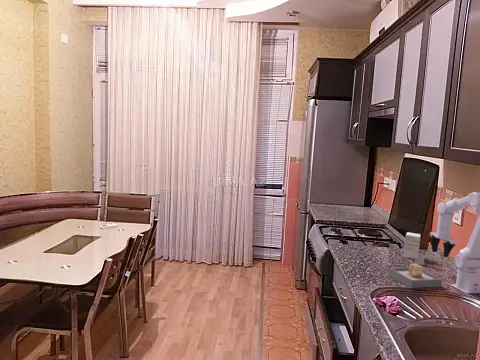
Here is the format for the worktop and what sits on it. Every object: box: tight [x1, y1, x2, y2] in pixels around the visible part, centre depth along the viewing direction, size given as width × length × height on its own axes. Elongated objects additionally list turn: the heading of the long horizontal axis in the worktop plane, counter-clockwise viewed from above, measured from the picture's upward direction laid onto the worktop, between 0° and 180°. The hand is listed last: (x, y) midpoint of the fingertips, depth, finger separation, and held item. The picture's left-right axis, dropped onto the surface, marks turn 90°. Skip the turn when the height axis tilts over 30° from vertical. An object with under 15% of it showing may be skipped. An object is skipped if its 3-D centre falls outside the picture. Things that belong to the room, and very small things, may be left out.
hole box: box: [387, 266, 443, 289], centre depth 192 cm, size 16×16×4 cm
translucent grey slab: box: [414, 250, 433, 266], centre depth 218 cm, size 7×2×8 cm, turn 68°
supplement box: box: [402, 231, 422, 260], centre depth 231 cm, size 7×7×13 cm
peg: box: [408, 263, 424, 278], centre depth 192 cm, size 4×4×7 cm
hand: (440, 254), depth 206 cm, fingers open, 7 cm apart
